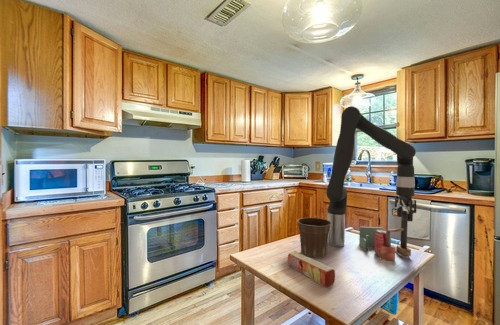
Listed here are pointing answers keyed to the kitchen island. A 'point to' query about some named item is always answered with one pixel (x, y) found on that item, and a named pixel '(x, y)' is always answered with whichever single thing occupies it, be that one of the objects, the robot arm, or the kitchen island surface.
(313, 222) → the plant pot
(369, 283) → the kitchen island surface
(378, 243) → the soda can
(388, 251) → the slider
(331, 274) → the snack package
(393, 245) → the rail
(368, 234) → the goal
